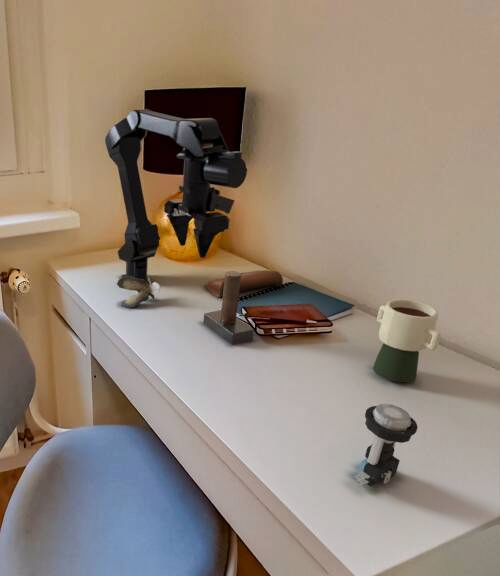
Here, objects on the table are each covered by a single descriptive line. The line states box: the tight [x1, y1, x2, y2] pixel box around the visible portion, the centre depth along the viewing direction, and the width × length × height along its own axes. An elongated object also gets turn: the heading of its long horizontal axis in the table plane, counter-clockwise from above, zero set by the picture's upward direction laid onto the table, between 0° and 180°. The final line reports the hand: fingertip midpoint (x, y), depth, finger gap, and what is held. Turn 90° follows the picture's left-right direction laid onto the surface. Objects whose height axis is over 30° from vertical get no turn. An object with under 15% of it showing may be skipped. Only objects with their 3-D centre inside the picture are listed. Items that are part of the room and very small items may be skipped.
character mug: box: [372, 299, 442, 383], centre depth 77 cm, size 11×7×13 cm, turn 14°
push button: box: [353, 403, 418, 487], centre depth 57 cm, size 7×5×10 cm
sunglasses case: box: [204, 269, 284, 298], centre depth 115 cm, size 18×7×7 cm
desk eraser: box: [202, 270, 255, 346], centre depth 93 cm, size 10×5×13 cm, turn 19°
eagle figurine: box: [116, 276, 161, 308], centre depth 109 cm, size 8×7×9 cm
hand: (192, 251), depth 104 cm, fingers open, 9 cm apart
